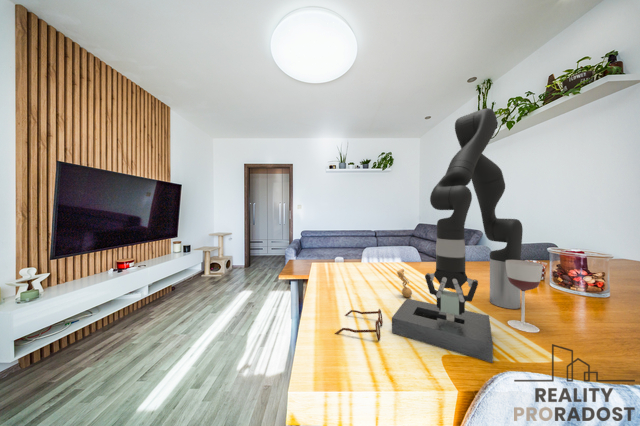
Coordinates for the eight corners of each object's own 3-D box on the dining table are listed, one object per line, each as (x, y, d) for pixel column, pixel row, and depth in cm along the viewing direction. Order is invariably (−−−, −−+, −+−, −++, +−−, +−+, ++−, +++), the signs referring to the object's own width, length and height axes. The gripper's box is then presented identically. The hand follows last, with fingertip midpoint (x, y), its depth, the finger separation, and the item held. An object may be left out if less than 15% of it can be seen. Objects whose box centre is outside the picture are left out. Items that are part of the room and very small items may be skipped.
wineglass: (535, 336, 65) (535, 267, 65) (500, 322, 73) (500, 261, 73) (547, 329, 69) (547, 264, 69) (512, 317, 77) (512, 258, 77)
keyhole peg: (441, 326, 70) (441, 289, 70) (460, 331, 67) (460, 292, 67) (439, 333, 66) (439, 294, 66) (459, 339, 63) (459, 298, 63)
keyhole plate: (391, 332, 67) (391, 317, 67) (406, 310, 82) (406, 298, 82) (492, 363, 54) (492, 344, 54) (488, 330, 69) (488, 315, 69)
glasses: (379, 344, 62) (379, 326, 62) (334, 335, 67) (334, 318, 67) (383, 322, 75) (383, 307, 75) (344, 316, 79) (344, 302, 79)
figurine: (416, 300, 91) (416, 271, 91) (402, 301, 91) (402, 271, 91) (406, 293, 100) (406, 266, 100) (393, 293, 99) (393, 266, 99)
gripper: (479, 254, 66) (479, 312, 66) (426, 249, 74) (426, 301, 74) (480, 259, 59) (480, 323, 60) (421, 253, 68) (421, 310, 68)
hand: (450, 311), depth 67 cm, fingers closed on keyhole peg, 4 cm apart
